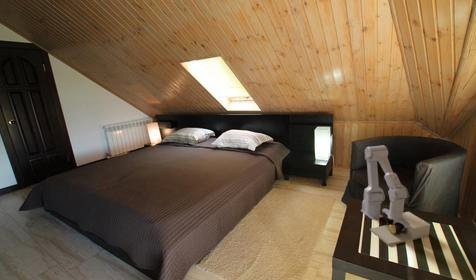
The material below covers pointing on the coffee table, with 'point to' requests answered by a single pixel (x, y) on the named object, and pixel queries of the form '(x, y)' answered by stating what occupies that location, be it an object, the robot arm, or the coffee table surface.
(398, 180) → the robot arm
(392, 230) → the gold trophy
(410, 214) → the housing
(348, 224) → the coffee table surface
